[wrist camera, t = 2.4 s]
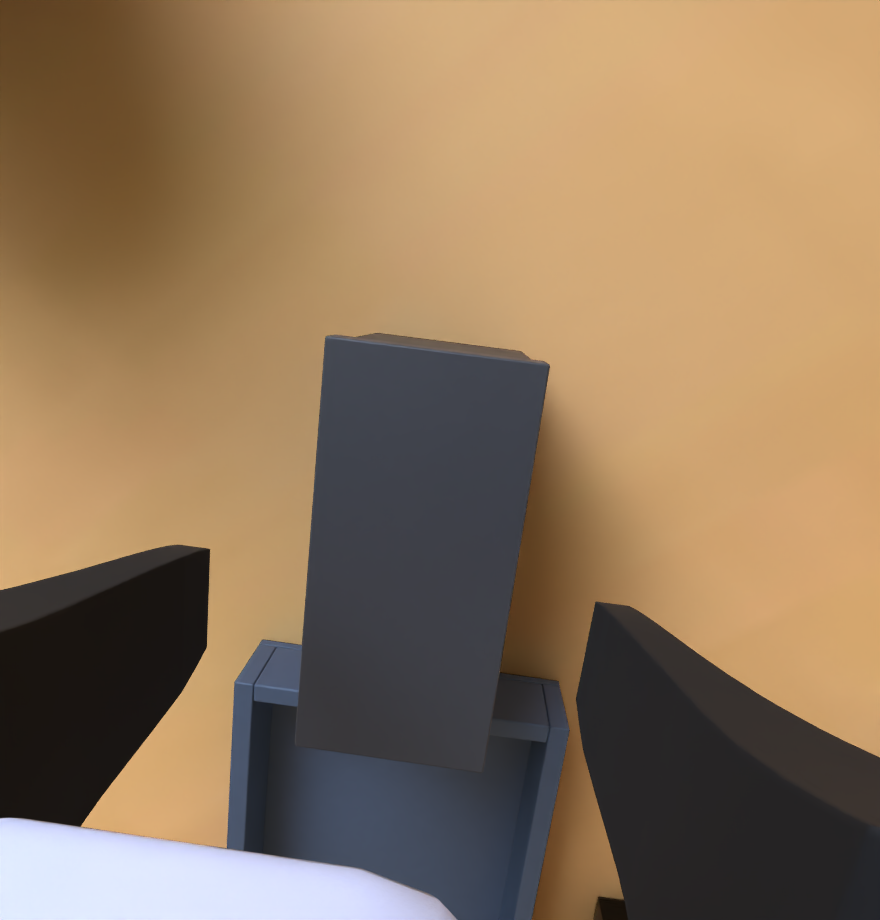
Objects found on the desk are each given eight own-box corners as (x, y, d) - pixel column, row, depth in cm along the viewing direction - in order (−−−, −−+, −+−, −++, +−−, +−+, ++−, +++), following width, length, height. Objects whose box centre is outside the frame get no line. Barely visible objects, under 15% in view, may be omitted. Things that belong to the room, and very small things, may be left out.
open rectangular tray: (558, 680, 21) (570, 729, 18) (494, 1016, 24) (497, 1094, 22) (262, 638, 21) (234, 681, 18) (242, 977, 24) (216, 1050, 22)
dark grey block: (525, 348, 18) (550, 364, 12) (480, 642, 20) (483, 774, 15) (372, 328, 18) (325, 335, 12) (345, 624, 20) (294, 746, 15)
